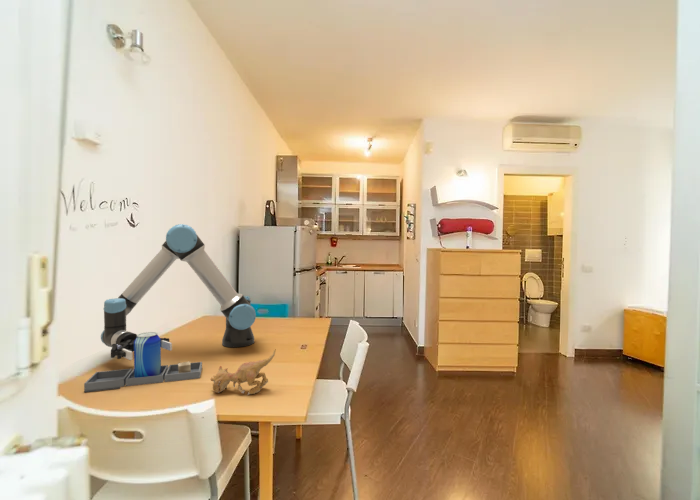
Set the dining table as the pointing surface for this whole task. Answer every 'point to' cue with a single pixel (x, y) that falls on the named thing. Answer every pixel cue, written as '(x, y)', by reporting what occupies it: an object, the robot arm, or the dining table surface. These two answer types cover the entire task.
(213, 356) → the dining table surface
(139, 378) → the tray middle
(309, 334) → the dining table surface
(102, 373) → the tray
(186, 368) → the beige cube
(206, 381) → the dining table surface
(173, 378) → the tray
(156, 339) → the beer can
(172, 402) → the dining table surface
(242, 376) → the toy
